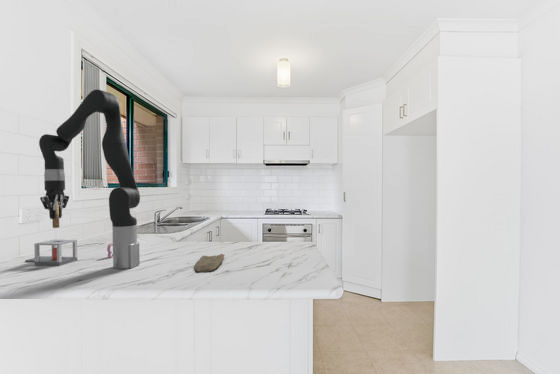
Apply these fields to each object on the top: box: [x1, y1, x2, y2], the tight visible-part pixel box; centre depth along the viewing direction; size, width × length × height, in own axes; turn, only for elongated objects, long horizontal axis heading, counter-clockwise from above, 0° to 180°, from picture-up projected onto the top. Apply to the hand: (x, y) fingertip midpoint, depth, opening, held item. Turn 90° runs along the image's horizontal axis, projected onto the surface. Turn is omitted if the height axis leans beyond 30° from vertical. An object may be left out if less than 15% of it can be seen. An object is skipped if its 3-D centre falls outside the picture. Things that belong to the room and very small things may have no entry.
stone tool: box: [194, 253, 225, 273], centre depth 136 cm, size 11×3×25 cm
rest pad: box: [24, 255, 52, 263], centre depth 149 cm, size 8×8×1 cm
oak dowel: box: [51, 201, 60, 229], centre depth 143 cm, size 2×2×12 cm
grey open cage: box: [34, 239, 78, 267], centre depth 143 cm, size 12×10×9 cm
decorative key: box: [106, 242, 113, 259], centre depth 160 cm, size 7×1×20 cm
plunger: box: [51, 246, 57, 260], centre depth 143 cm, size 3×3×6 cm
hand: (55, 218), depth 143 cm, fingers closed on oak dowel, 2 cm apart
